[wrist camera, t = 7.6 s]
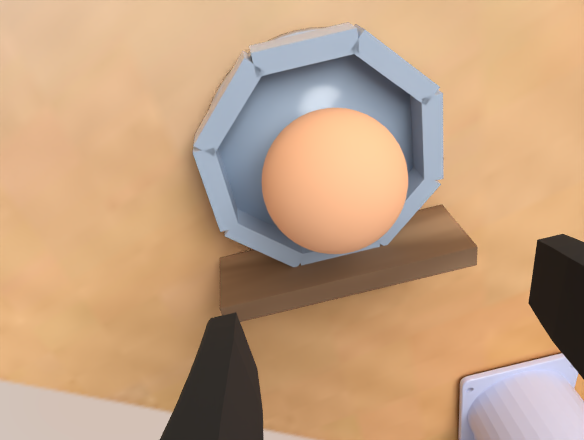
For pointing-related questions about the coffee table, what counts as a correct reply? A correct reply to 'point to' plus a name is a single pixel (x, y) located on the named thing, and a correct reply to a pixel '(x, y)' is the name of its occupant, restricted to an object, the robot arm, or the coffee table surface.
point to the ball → (334, 180)
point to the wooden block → (345, 268)
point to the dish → (299, 101)
